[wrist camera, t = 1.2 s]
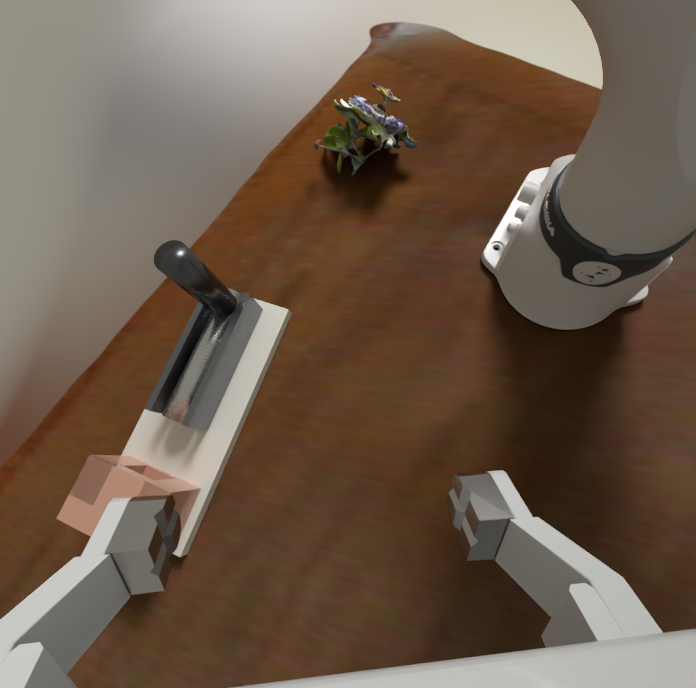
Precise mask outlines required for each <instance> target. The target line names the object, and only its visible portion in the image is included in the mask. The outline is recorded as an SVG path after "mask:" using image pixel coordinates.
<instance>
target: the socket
mask: <svg viewBox="0 0 696 688" xmlns="http://www.w3.org/2000/svg"><path fill="white" fill-rule="evenodd" d="M200 490H201V488H199V487H197V486H195V485H193V484H190V483H188V482H186V481H184V480H182V479H179V478H177V477H175V476H173V475H171V474H168V473H166V472H164V471H162V470H160V469H157V468H155V467H153V466H151V465H149V464H146V463H144V462H142V461H140V460H138V459H135V458H133V457H131V456H114V455H90V456H89V458H88V460H87V462H86V463H85V465H84V467H83V469H82V471H81V473H80V475H79V477H78V479H77V480H76V482H75V484H74V486H73V488H72V490H71V492H70V494H69V496H68V498H67V499H66V501H65V503H64V505H63V507H62V509H61V511H60V513H59V515H58V517H57V518H56V519H58V520H60V521H62V522H64V523H66V524H68V525H70V526H71V527H73V528H75V529H77V530H79V531H81V532H83V533H85V534H87V535H89V536H90V537H91V535H92V534H93V532H94V530H95V528H96V526H97V524H98V522H99V520H100V518H101V516H102V514H103V512H104V511H105V509H106V507H107V505H108V503H109V502H110V501H111V500H112V499H113V498H122V497H139V496H161V495H173V497H174V500H175V502H176V503H175V506H174V510H175V511H176V512H178V513H179V515H180V519H181V533H182V531H183V528H184V526H185V524H186V522H187V519H188V517H189V515H190V513H191V510H192V508H193V506H194V504H195V501H196V499H197V497H198V495H199V492H200ZM181 533H180V535H181Z"/></svg>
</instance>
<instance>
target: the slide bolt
mask: <svg viewBox="0 0 696 688" xmlns="http://www.w3.org/2000/svg"><path fill="white" fill-rule="evenodd" d="M154 263H155V266H156V267H157V268H158V269H159V270H160V271H161V272H163V273H164V274H165V275H166V276H167V277H169V278H170V279H171V280H172V281H174V282H175V283H176V284H177V285H179V286H180V287H181V288H182V289H183V290H185V291H186V292H187V293H188V294H190V295H191V296H192V297H193V298H195V299H196V300H197V301H198V302H200V303H201V304H202V305H203V306H204V307H206V308H207V309H208V310H209V311H211V312H212V313H211V315H210V317H209V319H208V321H207V323H206V325H205V327H204V329H203V331H202V333H201V335H200V337H199V339H198V341H197V343H196V345H195V348H194V350H193V352H192V354H191V356H190V358H189V360H188V362H187V364H186V366H185V368H184V370H183V372H182V374H181V376H180V378H179V380H178V382H177V384H176V386H175V388H174V390H173V392H172V394H171V396H170V398H169V400H168V402H167V404H166V406H165V408H164V410H163V412H162V414H161V415H162V416H164V417H167V418H169V419H172V420H174V421H177V422H180V423H182V421H183V419H184V417H185V415H186V413H187V411H188V408H189V406H190V404H191V402H192V400H193V398H194V396H195V394H196V392H197V390H198V388H199V385H200V383H201V381H202V379H203V377H204V375H205V373H206V371H207V369H208V367H209V364H210V362H211V360H212V358H213V356H214V354H215V352H216V350H217V348H218V346H219V343H220V341H221V339H222V337H223V335H224V333H225V331H226V329H227V327H228V325H229V323H230V320H231V318H232V316H233V314H234V312H235V310H236V308H237V306H238V304H239V302H240V299H241V297H242V294H241V293H239V292H237V291H234V290H232V289H228V288H226V286H225V285H224V284H223V283H222V282H221V281H220V280H219V279H218V278H217V277H216V276H215V275H214V274H213V273H212V272H211V271H210V270H209V269H208V268H207V267H206V266H205V265H204V264H203V263H202V262H201V261H200V260H199V259H198V258H197V257H196V256H195V255H194V254H193V253H192V252H191V250H190V249H189V248H188V247H187V246H186V245H185V244H184V243H182V242H180V241H175V240H174V241H173V240H172V241H168V242H166V243H164V244H162V245H161V246H160V247H159V248H158V249H157V251H156V253H155V256H154Z"/></svg>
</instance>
